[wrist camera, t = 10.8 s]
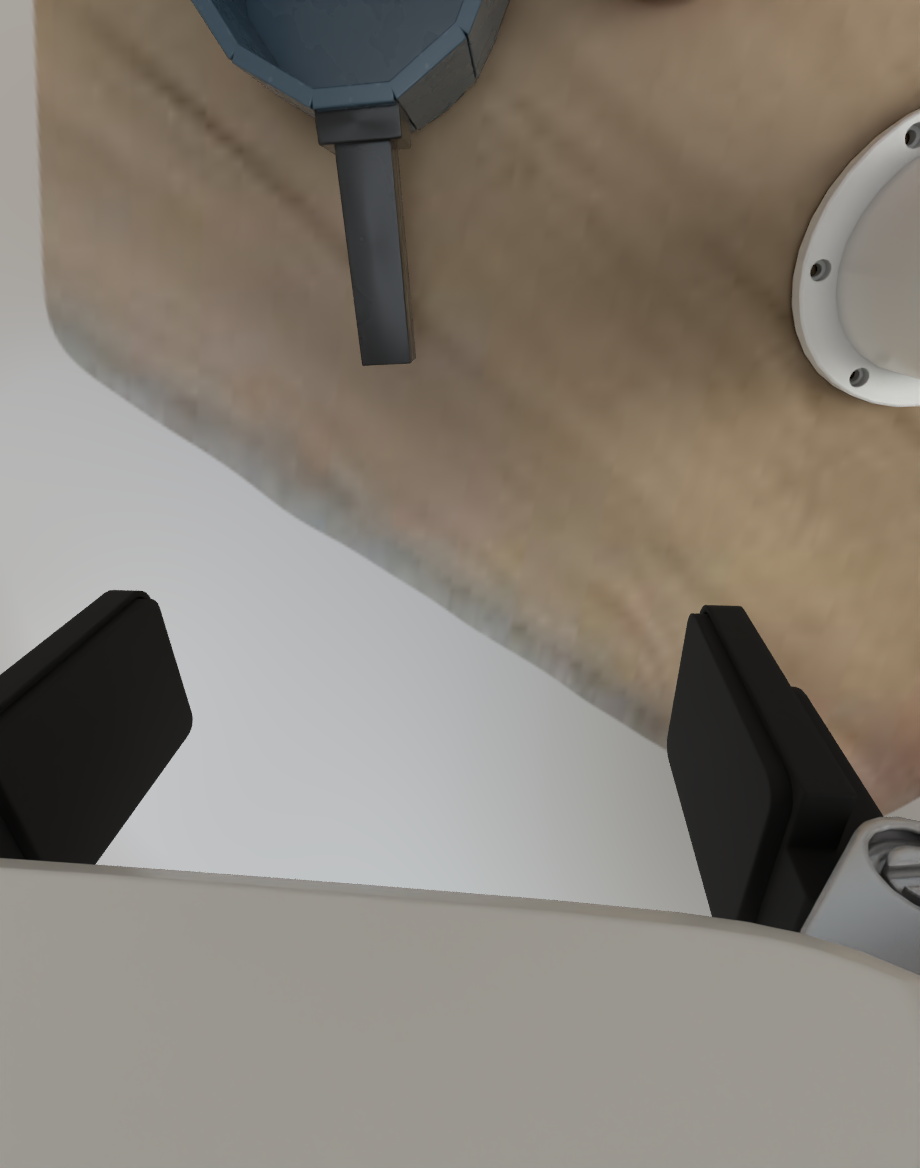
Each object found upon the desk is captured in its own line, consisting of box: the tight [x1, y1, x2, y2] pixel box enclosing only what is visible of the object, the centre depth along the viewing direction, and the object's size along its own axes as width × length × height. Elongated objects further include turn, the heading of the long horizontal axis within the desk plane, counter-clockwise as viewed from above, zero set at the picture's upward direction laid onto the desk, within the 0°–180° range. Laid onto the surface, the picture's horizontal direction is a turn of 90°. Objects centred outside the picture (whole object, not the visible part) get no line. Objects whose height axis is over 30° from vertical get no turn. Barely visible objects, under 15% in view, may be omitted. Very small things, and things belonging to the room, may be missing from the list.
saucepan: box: [191, 0, 509, 366], centre depth 24 cm, size 12×21×6 cm, turn 3°
